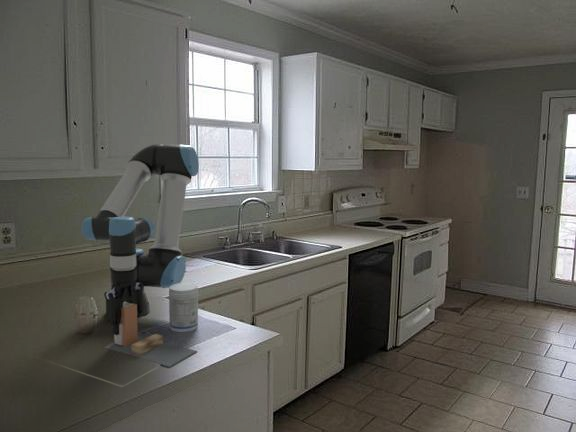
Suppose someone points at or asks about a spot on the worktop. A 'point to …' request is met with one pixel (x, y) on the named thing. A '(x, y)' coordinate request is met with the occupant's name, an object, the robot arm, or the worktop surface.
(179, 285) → the supplement tub
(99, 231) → the robot arm
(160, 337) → the ledge
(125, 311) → the block
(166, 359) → the mat
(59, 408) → the worktop surface
